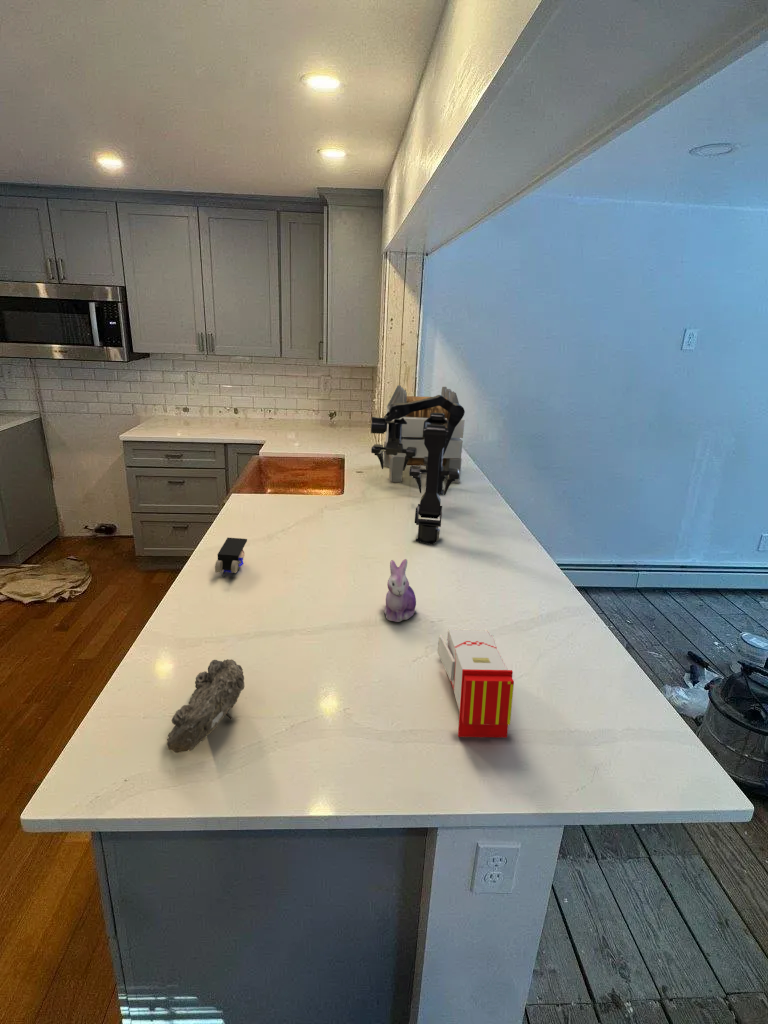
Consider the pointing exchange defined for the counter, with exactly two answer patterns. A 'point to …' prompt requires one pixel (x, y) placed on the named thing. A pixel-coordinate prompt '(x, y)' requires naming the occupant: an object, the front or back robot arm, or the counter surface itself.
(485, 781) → the counter surface
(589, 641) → the counter surface
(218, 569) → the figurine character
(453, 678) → the toy
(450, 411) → the back robot arm
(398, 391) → the transformer
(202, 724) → the fossil
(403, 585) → the figurine
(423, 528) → the front robot arm
